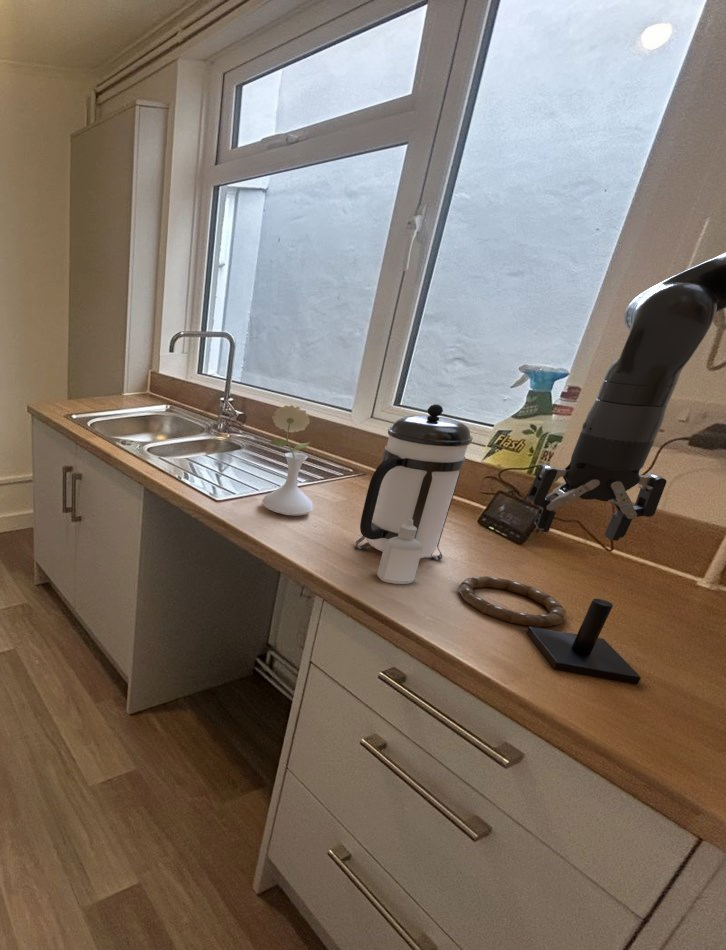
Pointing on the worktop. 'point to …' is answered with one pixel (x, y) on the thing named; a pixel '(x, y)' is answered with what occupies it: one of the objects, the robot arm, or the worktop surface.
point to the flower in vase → (290, 465)
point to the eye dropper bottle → (401, 556)
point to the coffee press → (415, 480)
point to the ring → (543, 620)
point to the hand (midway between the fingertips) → (575, 534)
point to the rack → (584, 648)
